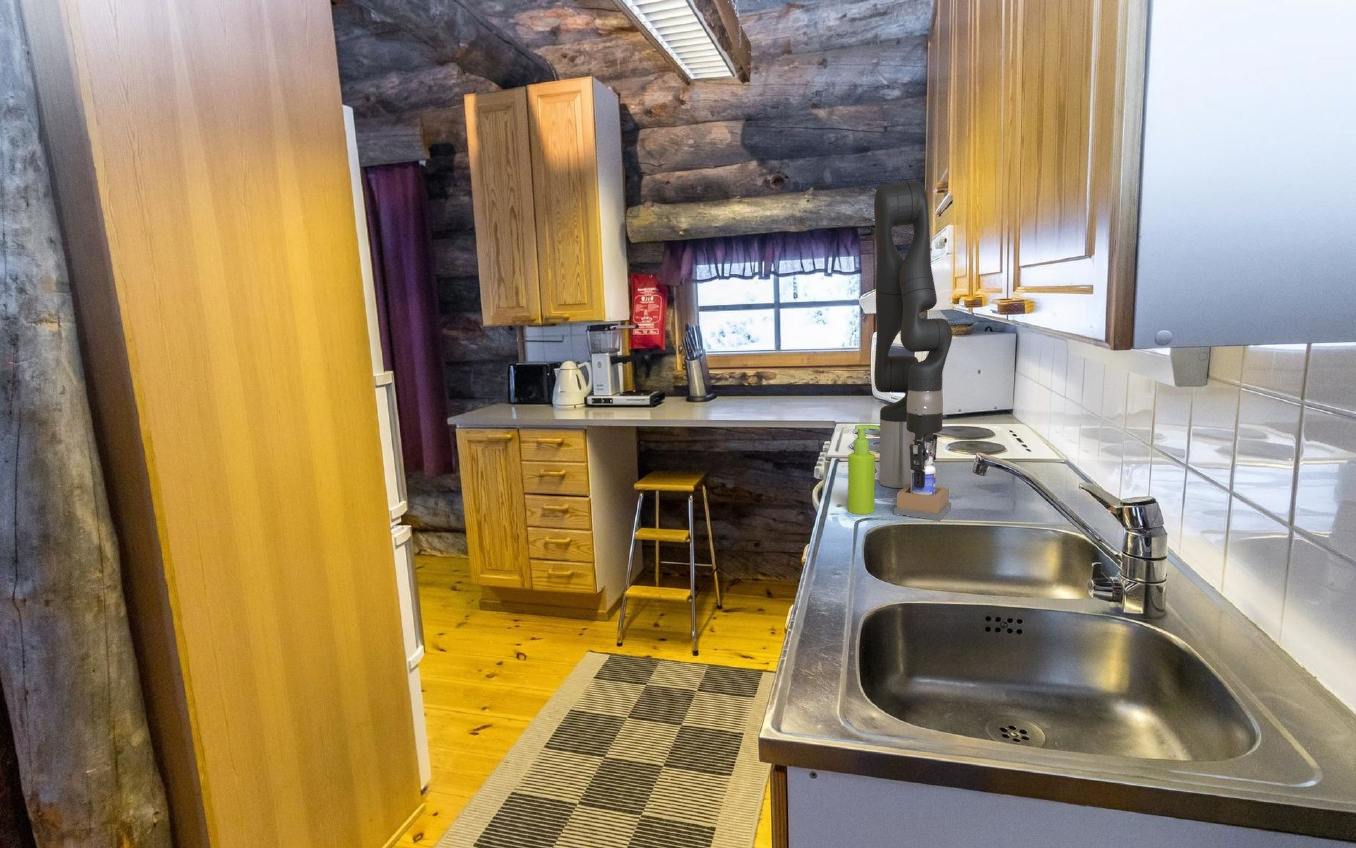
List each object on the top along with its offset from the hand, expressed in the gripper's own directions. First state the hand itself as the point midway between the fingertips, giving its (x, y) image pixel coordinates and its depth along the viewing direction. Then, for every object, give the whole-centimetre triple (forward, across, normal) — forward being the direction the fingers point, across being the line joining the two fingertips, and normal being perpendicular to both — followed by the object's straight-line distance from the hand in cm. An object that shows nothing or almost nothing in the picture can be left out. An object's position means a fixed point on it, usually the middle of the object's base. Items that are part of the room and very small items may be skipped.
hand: (923, 483), depth 157 cm
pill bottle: (+4, 0, 0) cm, 4 cm away
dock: (+7, 0, 0) cm, 7 cm away
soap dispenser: (+7, +5, -12) cm, 15 cm away
